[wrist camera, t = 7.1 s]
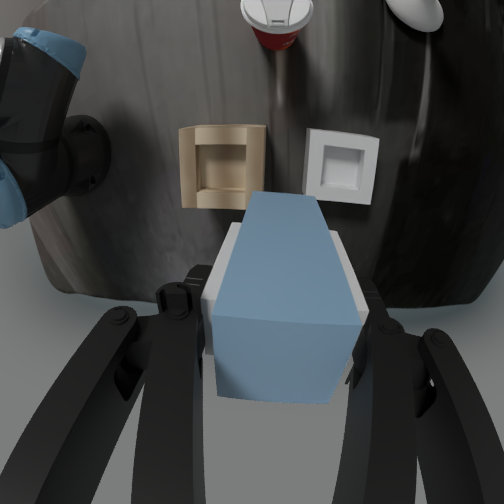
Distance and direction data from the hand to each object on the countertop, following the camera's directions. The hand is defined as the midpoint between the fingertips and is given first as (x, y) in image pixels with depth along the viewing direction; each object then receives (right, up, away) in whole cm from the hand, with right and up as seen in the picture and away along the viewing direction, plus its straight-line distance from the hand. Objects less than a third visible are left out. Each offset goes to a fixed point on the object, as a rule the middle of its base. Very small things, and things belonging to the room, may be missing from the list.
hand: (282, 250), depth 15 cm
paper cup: (+2, +32, +16) cm, 36 cm away
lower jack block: (+11, +14, +25) cm, 31 cm away
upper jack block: (-5, +15, +26) cm, 30 cm away
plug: (0, +2, +4) cm, 4 cm away
